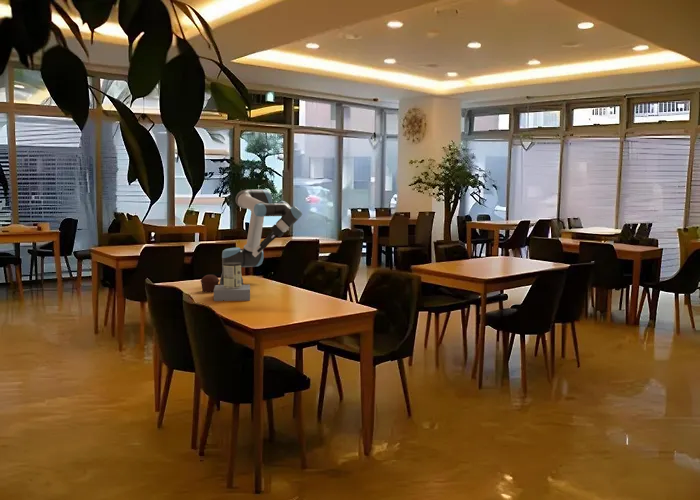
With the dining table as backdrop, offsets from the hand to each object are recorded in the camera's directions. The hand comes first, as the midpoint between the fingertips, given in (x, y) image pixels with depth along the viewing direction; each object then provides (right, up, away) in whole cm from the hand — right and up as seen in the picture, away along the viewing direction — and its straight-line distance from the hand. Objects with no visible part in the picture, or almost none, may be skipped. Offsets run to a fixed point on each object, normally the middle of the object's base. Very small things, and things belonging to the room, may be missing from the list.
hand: (253, 254), depth 382 cm
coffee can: (-12, -19, -1) cm, 22 cm away
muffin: (-30, -23, +22) cm, 43 cm away
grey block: (-12, -25, -1) cm, 28 cm away
